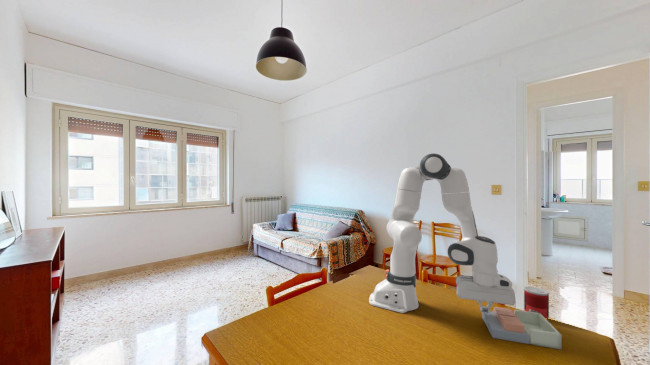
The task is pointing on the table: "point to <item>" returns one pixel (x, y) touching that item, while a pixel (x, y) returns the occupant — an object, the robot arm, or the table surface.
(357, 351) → the table surface
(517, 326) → the tile
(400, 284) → the robot arm
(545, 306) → the canned food
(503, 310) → the tile
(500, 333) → the shallow grey tray
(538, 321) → the bin
